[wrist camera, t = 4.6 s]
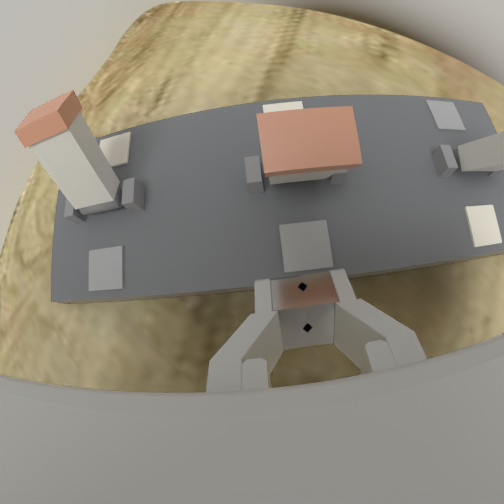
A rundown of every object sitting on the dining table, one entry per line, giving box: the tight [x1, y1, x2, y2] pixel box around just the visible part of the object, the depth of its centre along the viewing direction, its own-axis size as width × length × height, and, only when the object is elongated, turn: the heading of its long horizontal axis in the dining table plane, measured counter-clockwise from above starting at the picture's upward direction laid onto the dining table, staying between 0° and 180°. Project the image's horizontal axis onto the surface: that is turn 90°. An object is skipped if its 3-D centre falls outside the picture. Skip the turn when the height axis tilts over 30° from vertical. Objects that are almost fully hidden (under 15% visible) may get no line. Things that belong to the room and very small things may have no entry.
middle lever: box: [256, 106, 363, 185], centre depth 13 cm, size 2×3×8 cm, turn 95°
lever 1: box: [15, 90, 123, 215], centre depth 15 cm, size 2×3×8 cm, turn 96°
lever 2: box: [452, 131, 504, 171], centre depth 12 cm, size 2×3×8 cm, turn 95°
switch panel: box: [51, 95, 504, 304], centre depth 18 cm, size 12×34×4 cm, turn 95°
